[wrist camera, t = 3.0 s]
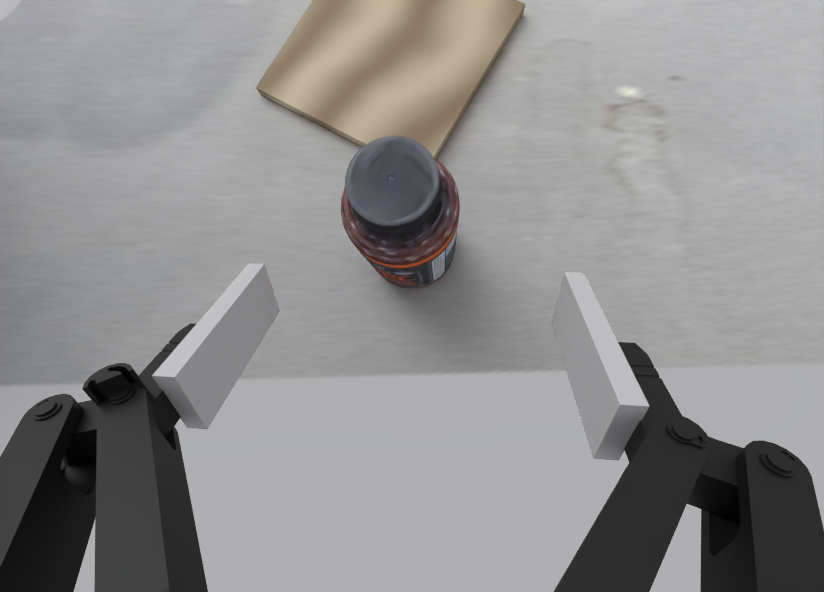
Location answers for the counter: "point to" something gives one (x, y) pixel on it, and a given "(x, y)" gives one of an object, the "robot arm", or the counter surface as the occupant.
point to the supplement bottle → (401, 210)
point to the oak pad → (389, 65)
